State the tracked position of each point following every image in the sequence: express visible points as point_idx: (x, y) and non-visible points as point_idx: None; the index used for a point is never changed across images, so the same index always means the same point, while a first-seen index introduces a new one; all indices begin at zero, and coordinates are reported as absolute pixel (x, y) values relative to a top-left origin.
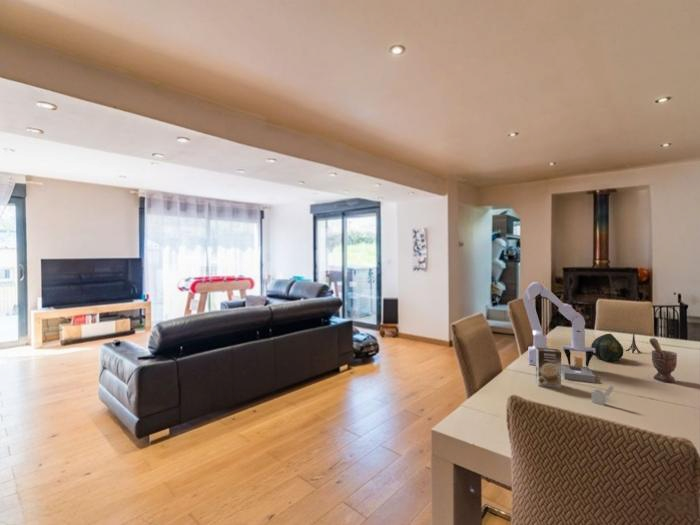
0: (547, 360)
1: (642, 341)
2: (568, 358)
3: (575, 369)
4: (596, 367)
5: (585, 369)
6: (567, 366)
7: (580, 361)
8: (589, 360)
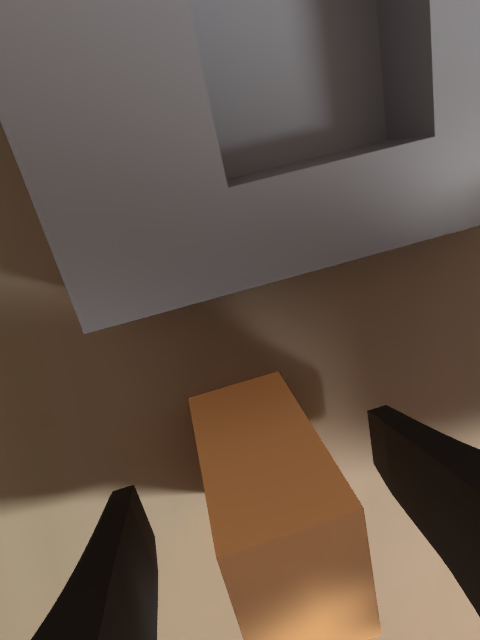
0: None
1: None
2: (475, 454)
3: (296, 167)
4: None
5: (97, 61)
6: (465, 105)
7: (241, 486)
8: (67, 590)
